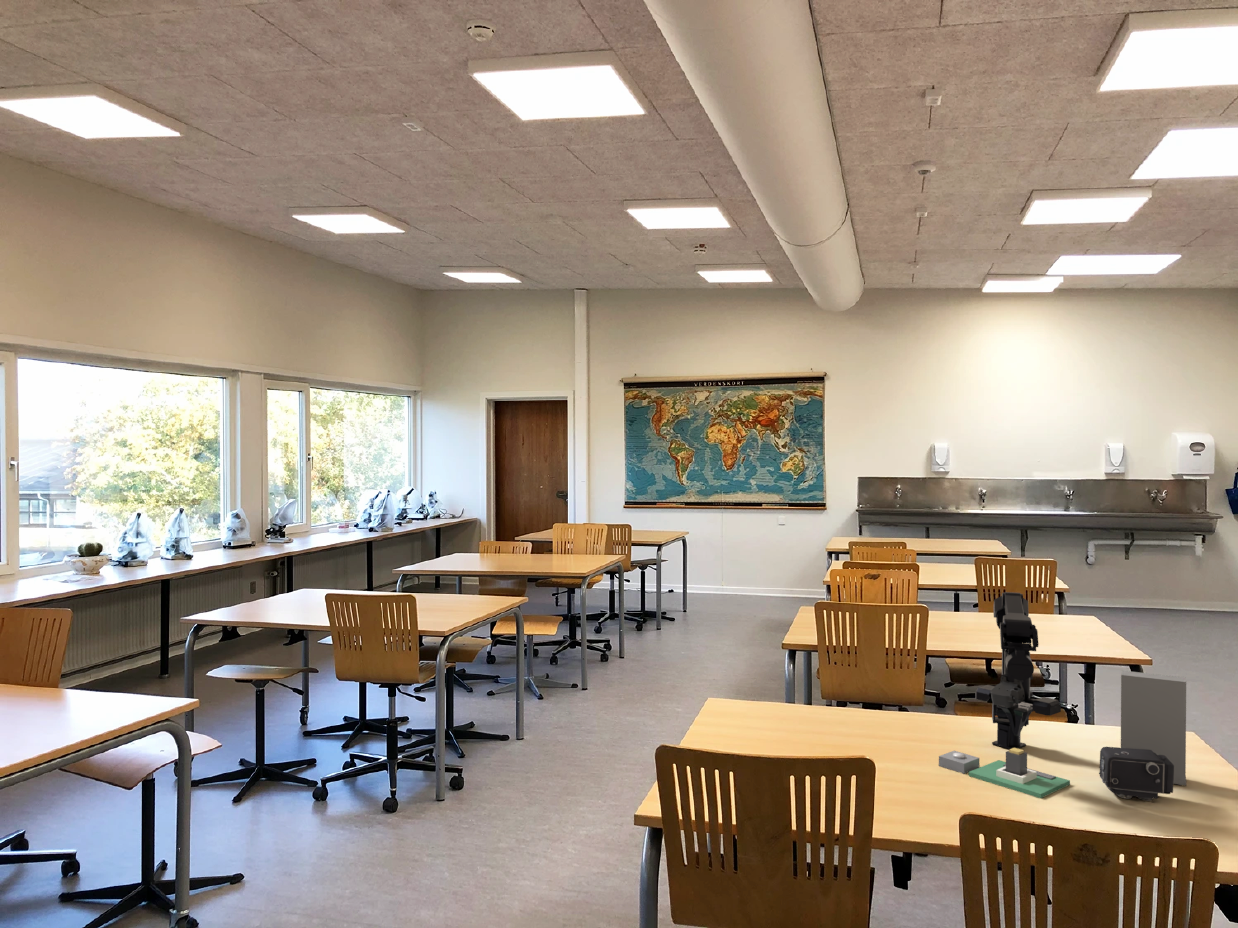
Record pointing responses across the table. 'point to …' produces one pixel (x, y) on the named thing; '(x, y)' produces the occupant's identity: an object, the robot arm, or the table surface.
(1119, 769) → the camera
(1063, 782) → the board
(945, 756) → the grey push button
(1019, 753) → the plug
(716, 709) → the table surface
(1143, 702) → the upright grey panel
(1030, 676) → the robot arm
